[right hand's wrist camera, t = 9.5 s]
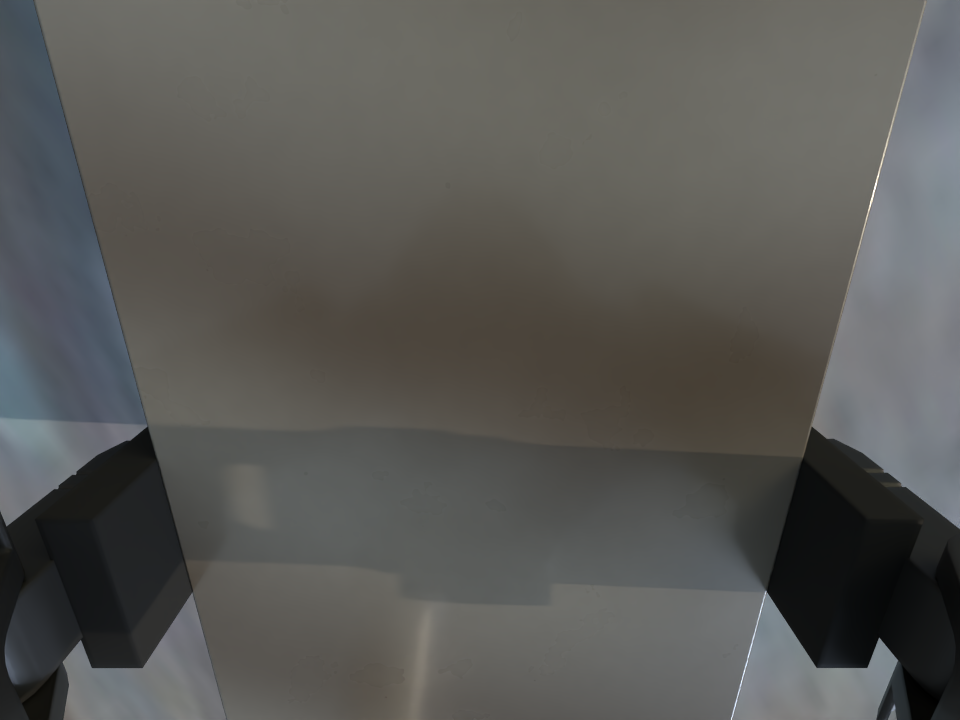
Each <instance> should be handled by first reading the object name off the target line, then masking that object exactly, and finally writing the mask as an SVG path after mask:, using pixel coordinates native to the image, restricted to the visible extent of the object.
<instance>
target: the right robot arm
mask: <svg viewBox="0 0 960 720" xmlns="http://www.w3.org/2000/svg"><path fill="white" fill-rule="evenodd" d="M191 593H192V589H191V585H190V581H189V578H188V574H187V570H186V566H185V563H184V559H183V555H182V552H181V548H180V544H179V540H178V537H177V533H176V529H175V526H174V522H173V518H172V514H171V511H170V507H169V503H168V499H167V496H166V492H165V488H164V485H163V481H162V477H161V473H160V470H159V466H158V462H157V459H156V455H155V451H154V447H153V444H152V440H151V436H150V433H149V429H148V427H147V428H145V429H144V430H143V431H142V432H140V433H139V434H138V435H137V436H136V437H134V438H133V439H132V440H131V441H125V442H123V443H121V444H119V445H117V446H115V447H113V448H111V449H109V450H107V451H105V452H103V453H101V454H99V455H97V456H96V457H95V458H93V459H92V460H91V461H89V462H88V463H87V464H86V465H84V466H83V467H82V468H81V469H79V470H78V471H77V474H76V475H72V476H70V477H69V478H68V479H67V480H65V481H64V482H63V483H62V484H60V485H59V488H58V489H54V490H53V491H51V492H50V493H49V494H48V495H46V496H45V497H44V498H42V499H41V500H40V501H39V502H37V503H36V504H35V505H34V506H32V507H31V508H30V509H29V510H27V511H26V512H25V513H23V514H22V515H21V516H20V517H18V518H17V519H16V520H15V521H13V522H12V523H11V524H9V525H8V526H7V527H6V524H5V522H4V519H3V517H2V515H1V512H0V720H63V718H64V712H65V705H66V699H67V693H68V687H69V683H68V677H67V672H66V670H65V667H64V665H63V661H64V659H65V658H66V657H67V656H68V654H69V653H70V652H71V651H72V650H73V648H74V647H75V646H76V645H77V644H78V642H79V641H80V640H81V641H82V643H83V646H84V649H85V651H86V654H87V656H88V659H89V662H90V664H91V667H92V668H143V666H144V665H145V663H146V662H147V660H148V659H149V657H150V656H151V654H152V653H153V651H154V650H155V648H156V647H157V645H158V644H159V642H160V641H161V639H162V638H163V636H164V634H165V633H166V631H167V630H168V628H169V627H170V625H171V624H172V622H173V621H174V619H175V618H176V616H177V615H178V613H179V612H180V610H181V609H182V607H183V605H184V604H185V602H186V601H187V599H188V598H189V596H190V595H191ZM767 593H768V594H769V596H770V597H771V599H772V600H773V602H774V603H775V605H776V606H777V608H778V609H779V611H780V612H781V614H782V616H783V617H784V619H785V620H786V622H787V623H788V625H789V626H790V628H791V629H792V631H793V632H794V634H795V635H796V637H797V638H798V640H799V641H800V643H801V645H802V646H803V648H804V649H805V651H806V652H807V654H808V655H809V657H810V658H811V660H812V661H813V663H814V664H815V666H816V667H817V668H867V667H868V665H869V662H870V660H871V657H872V654H873V652H874V649H875V647H876V644H877V641H878V639H879V638H880V639H881V640H882V641H883V642H884V644H885V645H886V646H887V647H888V648H889V650H890V651H891V652H892V653H893V655H894V656H895V657H896V658H897V659H898V662H897V665H896V667H895V670H894V672H893V675H892V677H891V679H890V682H889V684H888V687H887V689H886V691H885V694H884V696H883V699H882V701H881V704H880V706H879V708H878V714H877V720H888V718H889V715H890V713H891V711H893V710H896V716H897V720H960V529H959V528H957V527H956V526H955V525H954V524H952V523H951V522H950V521H949V520H947V519H946V518H945V517H943V516H942V515H941V514H940V513H938V512H937V511H936V510H934V509H933V508H932V507H931V506H929V505H928V504H927V503H926V502H924V501H923V500H922V499H920V498H919V497H918V496H917V495H915V494H914V493H913V492H911V491H910V490H909V489H908V488H906V487H902V486H901V483H900V482H899V481H897V480H896V479H895V478H894V477H892V476H891V475H890V474H888V473H884V472H883V469H882V468H881V467H879V466H878V465H877V464H876V463H874V462H873V461H872V460H871V459H869V458H868V457H867V456H865V455H864V454H863V453H861V452H859V451H857V450H855V449H853V448H851V447H849V446H847V445H845V444H843V443H841V442H839V441H837V440H835V439H826V438H825V437H824V436H823V435H821V434H820V433H819V432H818V431H816V430H815V429H814V428H813V427H811V431H810V434H809V438H808V442H807V445H806V449H805V453H804V456H803V460H802V464H801V467H800V471H799V475H798V479H797V482H796V486H795V490H794V493H793V497H792V501H791V504H790V508H789V512H788V516H787V519H786V523H785V527H784V530H783V534H782V538H781V541H780V545H779V549H778V553H777V556H776V560H775V564H774V567H773V571H772V575H771V578H770V582H769V586H768V589H767Z"/></svg>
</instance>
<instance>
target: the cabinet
mask: <svg viewBox="0 0 960 720" xmlns="http://www.w3.org/2000/svg"><path fill="white" fill-rule="evenodd" d="M33 1H34V5H35V8H36V12H37V16H38V20H39V23H40V27H41V31H42V35H43V38H44V42H45V46H46V49H47V53H48V57H49V61H50V64H51V68H52V72H53V75H54V79H55V83H56V87H57V90H58V94H59V98H60V101H61V105H62V109H63V113H64V116H65V120H66V124H67V128H68V131H69V135H70V139H71V142H72V146H73V150H74V154H75V157H76V161H77V165H78V168H79V172H80V176H81V180H82V183H83V187H84V191H85V194H86V198H87V202H88V206H89V209H90V213H91V217H92V221H93V224H94V228H95V232H96V235H97V239H98V243H99V247H100V250H101V254H102V258H103V261H104V265H105V269H106V273H107V276H108V280H109V284H110V287H111V291H112V295H113V299H114V302H115V306H116V310H117V313H118V317H119V321H120V325H121V328H122V332H123V336H124V340H125V343H126V347H127V351H128V354H129V358H130V362H131V366H132V369H133V373H134V377H135V380H136V384H137V388H138V392H139V395H140V399H141V403H142V406H143V410H144V414H145V418H146V421H147V425H148V429H149V433H150V436H151V440H152V444H153V447H154V451H155V455H156V459H157V462H158V466H159V470H160V473H161V477H162V481H163V485H164V488H165V492H166V496H167V499H168V503H169V507H170V511H171V514H172V518H173V522H174V526H175V529H176V533H177V537H178V540H179V544H180V548H181V552H182V555H183V559H184V563H185V566H186V570H187V574H188V578H189V581H190V585H191V589H192V592H193V596H194V600H195V604H196V607H197V611H198V615H199V618H200V622H201V626H202V630H203V633H204V637H205V641H206V645H207V648H208V652H209V656H210V659H211V663H212V667H213V671H214V674H215V678H216V682H217V685H218V689H219V693H220V697H221V700H222V704H223V708H224V711H225V715H226V719H227V720H732V719H733V715H734V711H735V708H736V704H737V700H738V697H739V693H740V689H741V686H742V682H743V678H744V674H745V671H746V667H747V663H748V660H749V656H750V652H751V649H752V645H753V641H754V638H755V634H756V630H757V626H758V623H759V619H760V615H761V612H762V608H763V604H764V601H765V597H766V593H767V589H768V586H769V582H770V578H771V575H772V571H773V567H774V564H775V560H776V556H777V553H778V549H779V545H780V541H781V538H782V534H783V530H784V527H785V523H786V519H787V516H788V512H789V508H790V504H791V501H792V497H793V493H794V490H795V486H796V482H797V479H798V475H799V471H800V467H801V464H802V460H803V456H804V453H805V449H806V445H807V442H808V438H809V434H810V431H811V427H812V423H813V419H814V416H815V412H816V408H817V405H818V401H819V397H820V394H821V390H822V386H823V382H824V379H825V375H826V371H827V368H828V364H829V360H830V357H831V353H832V349H833V345H834V342H835V338H836V334H837V331H838V327H839V323H840V320H841V316H842V312H843V309H844V305H845V301H846V297H847V294H848V290H849V286H850V283H851V279H852V275H853V272H854V268H855V264H856V260H857V257H858V253H859V249H860V246H861V242H862V238H863V235H864V231H865V227H866V223H867V220H868V216H869V212H870V209H871V205H872V201H873V198H874V194H875V190H876V187H877V183H878V179H879V175H880V172H881V168H882V164H883V161H884V157H885V153H886V150H887V146H888V142H889V138H890V135H891V131H892V127H893V124H894V120H895V116H896V113H897V109H898V105H899V102H900V98H901V94H902V90H903V87H904V83H905V79H906V76H907V72H908V68H909V65H910V61H911V57H912V53H913V50H914V46H915V42H916V39H917V35H918V31H919V28H920V24H921V20H922V16H923V13H924V9H925V5H926V2H927V0H33Z"/></svg>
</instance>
